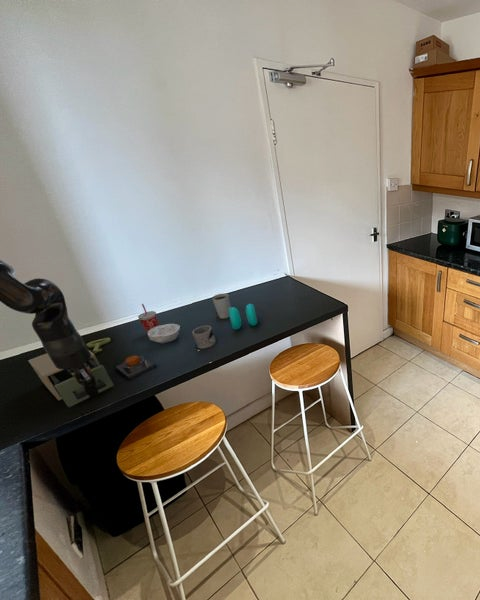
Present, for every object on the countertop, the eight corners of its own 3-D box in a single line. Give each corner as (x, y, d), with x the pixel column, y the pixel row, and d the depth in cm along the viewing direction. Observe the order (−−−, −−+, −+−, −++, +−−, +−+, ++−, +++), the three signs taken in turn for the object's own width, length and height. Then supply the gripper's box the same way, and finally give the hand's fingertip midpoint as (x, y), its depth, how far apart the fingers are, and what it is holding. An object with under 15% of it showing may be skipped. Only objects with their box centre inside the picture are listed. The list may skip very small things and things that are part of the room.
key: (94, 356, 120) (92, 352, 119) (86, 345, 126) (84, 341, 125) (118, 347, 125) (115, 343, 124) (108, 337, 132) (106, 333, 131)
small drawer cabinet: (107, 377, 109) (94, 354, 105) (58, 400, 100) (42, 375, 95) (91, 364, 116) (78, 341, 111) (43, 384, 106) (27, 360, 102)
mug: (215, 345, 126) (211, 332, 123) (196, 350, 124) (191, 336, 120) (216, 333, 134) (212, 320, 131) (198, 337, 132) (193, 324, 129)
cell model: (165, 332, 135) (159, 318, 132) (189, 335, 133) (184, 321, 130) (144, 345, 126) (137, 331, 123) (169, 348, 124) (163, 334, 121)
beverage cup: (144, 338, 131) (131, 308, 125) (146, 331, 136) (134, 302, 130) (162, 334, 134) (150, 305, 127) (163, 327, 139) (152, 299, 132)
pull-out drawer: (119, 390, 102) (109, 370, 99) (74, 413, 94) (60, 392, 90) (97, 371, 111) (87, 352, 107) (54, 391, 102) (40, 371, 98)
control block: (155, 366, 114) (152, 360, 113) (129, 379, 108) (126, 372, 107) (142, 358, 119) (139, 351, 118) (117, 369, 113) (113, 363, 112)
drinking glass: (236, 312, 150) (231, 294, 146) (226, 319, 145) (221, 300, 140) (224, 311, 152) (219, 292, 147) (214, 318, 146) (208, 298, 142)
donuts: (233, 323, 142) (227, 304, 137) (257, 318, 146) (252, 299, 141) (234, 334, 134) (228, 314, 129) (259, 328, 138) (254, 308, 133)
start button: (141, 361, 113) (139, 357, 112) (129, 366, 110) (128, 362, 109) (137, 358, 115) (135, 354, 114) (125, 363, 112) (123, 359, 111)
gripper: (40, 347, 88) (70, 393, 96) (56, 363, 82) (86, 411, 90) (75, 335, 94) (100, 379, 102) (92, 348, 87) (118, 395, 95)
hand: (94, 394), depth 96 cm, fingers closed
